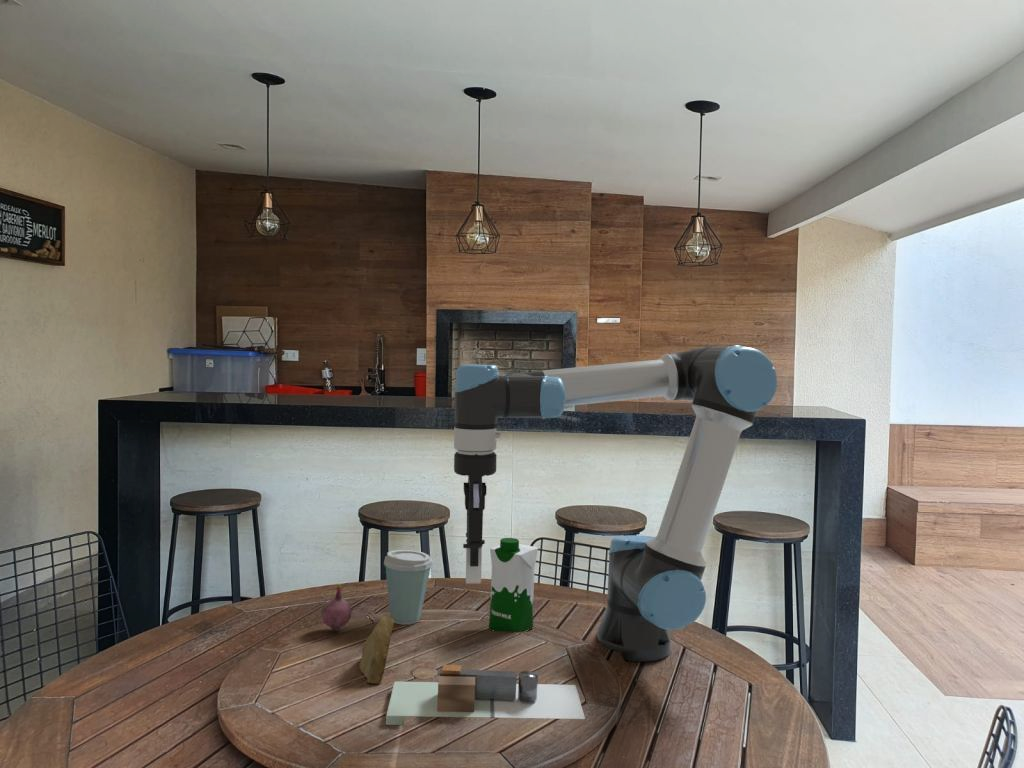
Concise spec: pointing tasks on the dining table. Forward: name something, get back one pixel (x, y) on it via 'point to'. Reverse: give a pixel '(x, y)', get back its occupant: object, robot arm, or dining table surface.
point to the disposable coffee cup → (406, 584)
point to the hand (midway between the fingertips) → (473, 582)
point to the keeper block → (456, 694)
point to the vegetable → (336, 611)
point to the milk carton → (512, 586)
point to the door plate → (484, 704)
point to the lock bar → (497, 683)
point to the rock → (376, 650)
